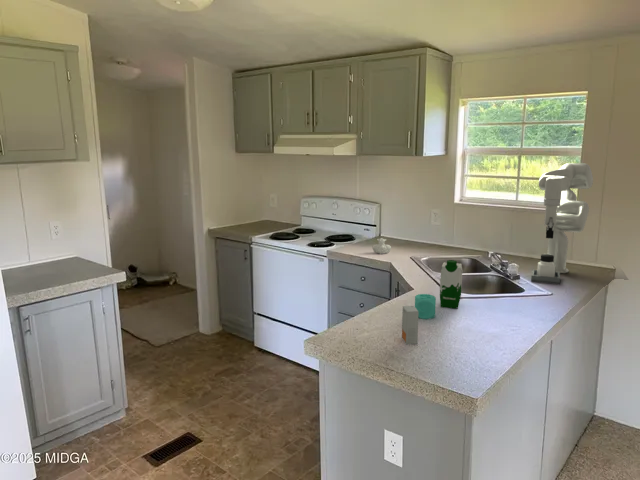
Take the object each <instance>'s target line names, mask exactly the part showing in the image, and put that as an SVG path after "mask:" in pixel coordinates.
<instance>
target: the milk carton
mask: <svg viewBox="0 0 640 480" xmlns="http://www.w3.org/2000/svg"><path fill="white" fill-rule="evenodd" d="M439 279H440V280H439V303H440V308H446V309H456V310H458V308H459V304H460V300H461V298H462V297H461V296H462V288H463V287H462V285H463V283H462V282H463V266H462V263H458V262H457V260H454V259H449V260H446V261H445V262H443V263H442V265H441V269H440V278H439Z"/></svg>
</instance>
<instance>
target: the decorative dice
mask: <svg viewBox="0 0 640 480" xmlns="http://www.w3.org/2000/svg"><path fill="white" fill-rule="evenodd" d="M436 303H437V301H436V296H434V295H432V294H429V293H420V294H416V295H415V296H414V307H415V308H416V309H417V310H418V319H422V320H431V319H434V318H436V308H437V306H436Z"/></svg>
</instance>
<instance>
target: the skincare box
mask: <svg viewBox="0 0 640 480" xmlns="http://www.w3.org/2000/svg"><path fill="white" fill-rule="evenodd" d="M401 318H402V320H401V339H402V340H403V342H404V344H405V345H417V344H418V336H419V334H418V333H419V318H418V310H417V309H416V308H415V305H403V306H402V317H401Z"/></svg>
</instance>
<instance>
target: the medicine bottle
mask: <svg viewBox="0 0 640 480" xmlns="http://www.w3.org/2000/svg"><path fill="white" fill-rule="evenodd" d="M539 260H540V261H539V262H537V268H536V270H537V276H547V277H555V268H556V266H555V265H554V264H553V262H554V256H553V255H551V254H547V253H543V254H541V255H540V259H539Z"/></svg>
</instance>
